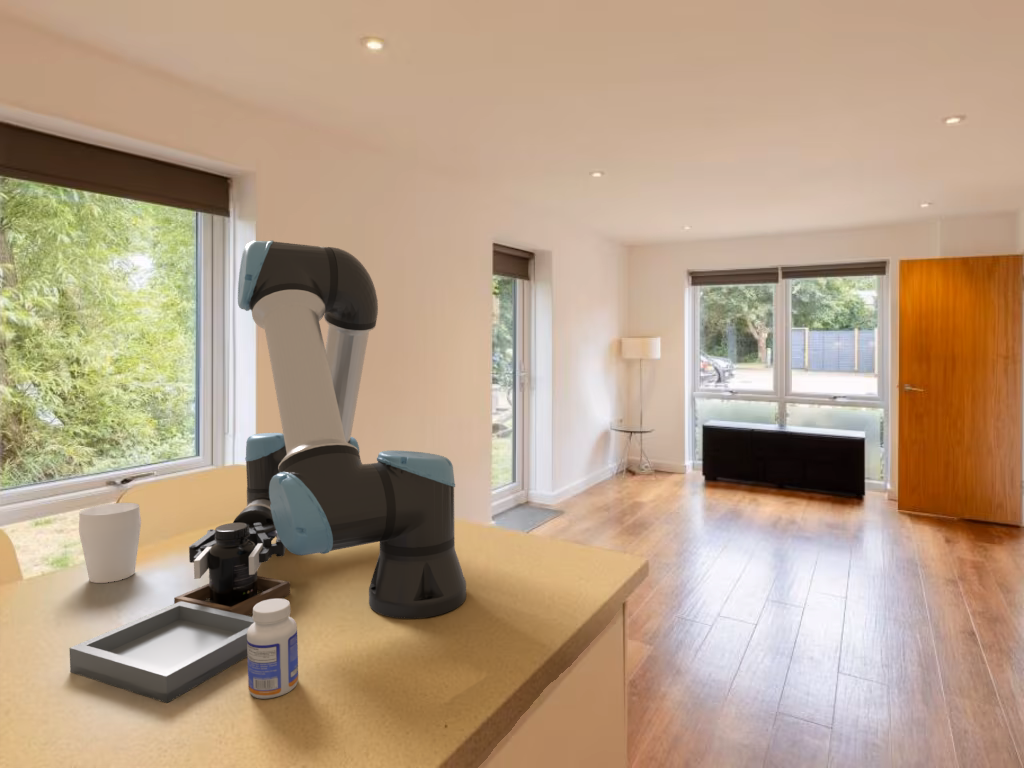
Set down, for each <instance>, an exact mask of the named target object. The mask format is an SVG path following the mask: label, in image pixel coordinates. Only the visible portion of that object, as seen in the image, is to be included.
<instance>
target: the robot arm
mask: <svg viewBox="0 0 1024 768" xmlns="http://www.w3.org/2000/svg"><path fill="white" fill-rule="evenodd" d="M239 267H240V268H239V273H238V281H237V283H238V284H237V304H238V306H239V308H240V310H244V311H246V312H249V311H251V315H252V320H253V322H254V323H255V324H256V325H257V326H258V327H260V329H263V330H264V333H265V337H266V344H267V349H268V354H269V355H268V356H269V359H270V361H269V362H270V365H271V372H272V378H273V383H274V389H275V395H276V401H277V407H278V410H279V412H278V413H279V417H280V423H281V427H282V428H281V429H282V432H263V433H262V432H261V433H255V434H251V435H250V436H248V437H247V439H246V445H245V458H244V459H245V460H244V461H245V465H246V506H245V508H243V509H242V510H241V511H240V513H239V514H238V515H237V516H236V517H235V518H234V520H233V522H232V523H247V524H248V525H249V533H250V537H249V538H248V539H249V540H251V541H253V542H254V543H255V545H256V547H255V548H254V550H253V551H252V553H251V554H250V556H249V575H253V574H255V573H256V571H257V572H258V569H259V568H260V566H261V564H262V563H267V562H268V561H269V559H271V558H273V557H272V556H273V555H275V556H276V557H279V558H281V557H283V556H285V553H286V552H285V551H286V550H288V551H289V552H290V553H291V554H294V555H297V556H307V555H313V554H322V555H323V554H328V553H330V552H332V551H337V550H342V549H347V548H353V547H357V546H363V545H368V544H372V543H378V542H379V554H378V557H377V561H376V563H375V564H376V565H375V567H374V570H373V574H372V577H371V580H370V584H369V586H368V604H369V607H370V608H371V610H373V611H374V612H376V613H378V614H380V615H382V616H385V617H390V618H395V619H407V620H408V619H425V618H430V617H436V616H441V615H443V614H447V613H449V612H451V611H453V610H455V609H457V608H459V607H460V606H461V605H462V604H464V602H465V601H466V598H467V581H466V578H465V576H464V572H463V570H462V569H463V568H462V567H461V563H460V561H459V557H458V555H457V551H456V547H455V543H456V542H455V488H456V483H455V474H454V465H453V463H452V461H451V459H449V458H448V457H445V456H443V455H440V454H436V453H435V454H434V453H430V452H421V451H412V450H383V451H380V452H378V456H377V457H376V461H377V462H374V463H364V464H363V462H362V459H361V456H360V446H359V442H358V440H357V438H355V437H353V436H352V432H353V426H354V421H355V415H356V409H357V403H358V402H357V401H358V396H359V391H360V387H361V386H360V385H361V379H362V373H363V368H364V363H365V356H366V352H367V351H366V350H367V345H368V340H369V333H370V332H371V331H372V330H374V329H375V328H376V326H377V321H378V320H377V319H378V315H379V314H378V313H379V304H378V301H379V300H378V297H377V296H378V295H377V291H376V288H375V284H374V281H373V279H372V277H371V275H370V274H369V272H368V270H367V269H366V268H365V267H366V266H364V264H363V263H362V262H361V261H360V259H358V258H356V257H355V256H354V255H353V254H351V253H350V252H348V251H346V250H344V249H341V248H338V247H331V246H330V247H329V246H328V247H327V246H319V245H307V244H300V243H289V242H280V241H274V240H252V241H250V242H248V243H247V244H246V245H245V246H244V248H243V251H242V256H241V260H240V266H239ZM322 318H324V321H325V322H326V323H327V325H328V326H327V327H328V329H327V336H326V344H325V343H324V339H323V334H322V330H321V324H320V321H321V320H323V319H322ZM275 538H276V540H275V543H272V541H273V540H274V539H275ZM216 543H217V542H216V541H215V529H209V530H207V531H206V534H205V535H203V536H201V538H199V539H198V540H196V541H194V543H192V544H190V545H189V546H188V551H189V552H188V554H189V557H188V558H189V559H188V560H189V563H193V575H194V578H193V579H194V580H197V579H198V580H199V579H201V578H202V577H203V576H204V574H205V573H207V571H209V551H210V549H211V547H212V546H213V545H215V544H216Z"/></svg>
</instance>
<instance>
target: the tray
mask: <svg viewBox="0 0 1024 768" xmlns="http://www.w3.org/2000/svg"><path fill="white" fill-rule="evenodd" d="M252 617H253V616H250V615H247V616H246V615H241V614H237V613H232V612H228V611H223V610H219V609H214V608H210V607H205V606H201V605H196V604H191V603H187V602H182V601H180V602H178V603H175V604H174V603H173V604H171V605H169V606H166V607H164V608H161V609H158V610H157V611H154V612H151V613H149V614H148V615H145V616H142V617H140V618H137V619H135V620H132V621H131V622H127V623H125V624H123V625H120V626H118V627H116V628H114V629H111V630H108V631H107V632H104V633H102V634H99V635H96V636H94V637H92V638H89V639H88V640H84V641H82V642H80V643H78V644H75V645H73V646H71V647H69V648H68V649H69V669H70V671H69V672H70V673H71V674H72V673H73V674H75V675H78V676H81V677H85V678H88V679H91V680H94V681H98V682H101V683H104V684H107V685H110V686H113V687H116V688H120V689H123V690H126V691H128V692H132V693H136V694H138V695H141V696H144V697H147V698H150V699H153V698H154V700H156V701H159V700H160V702H163V703H166V704H168V703H170V702H172V701H173V700H174V699H176V698H178V697H180V696H182V695H183V694H185V693H187V692H189V691H191V690H192V689H193V687H194V688H196V687H197V686H199V685H200V683H201V684H202V683H204V682H206V681H207V680H210V679H211V678H213V677H214V676H216V675H218V674H220V673H221V672H224V671H225V670H227V669H228V668H230V667H232V666H233V665H235V664H237V663H238V661H239V662H240V661H243V659H245V658H248V656H247V631H248V629H249V627H250V626H251V625H252V624H253V623H254V621H253V618H252ZM236 662H237V663H236ZM231 665H232V666H231ZM188 690H189V691H188ZM186 691H187V692H186Z"/></svg>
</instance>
